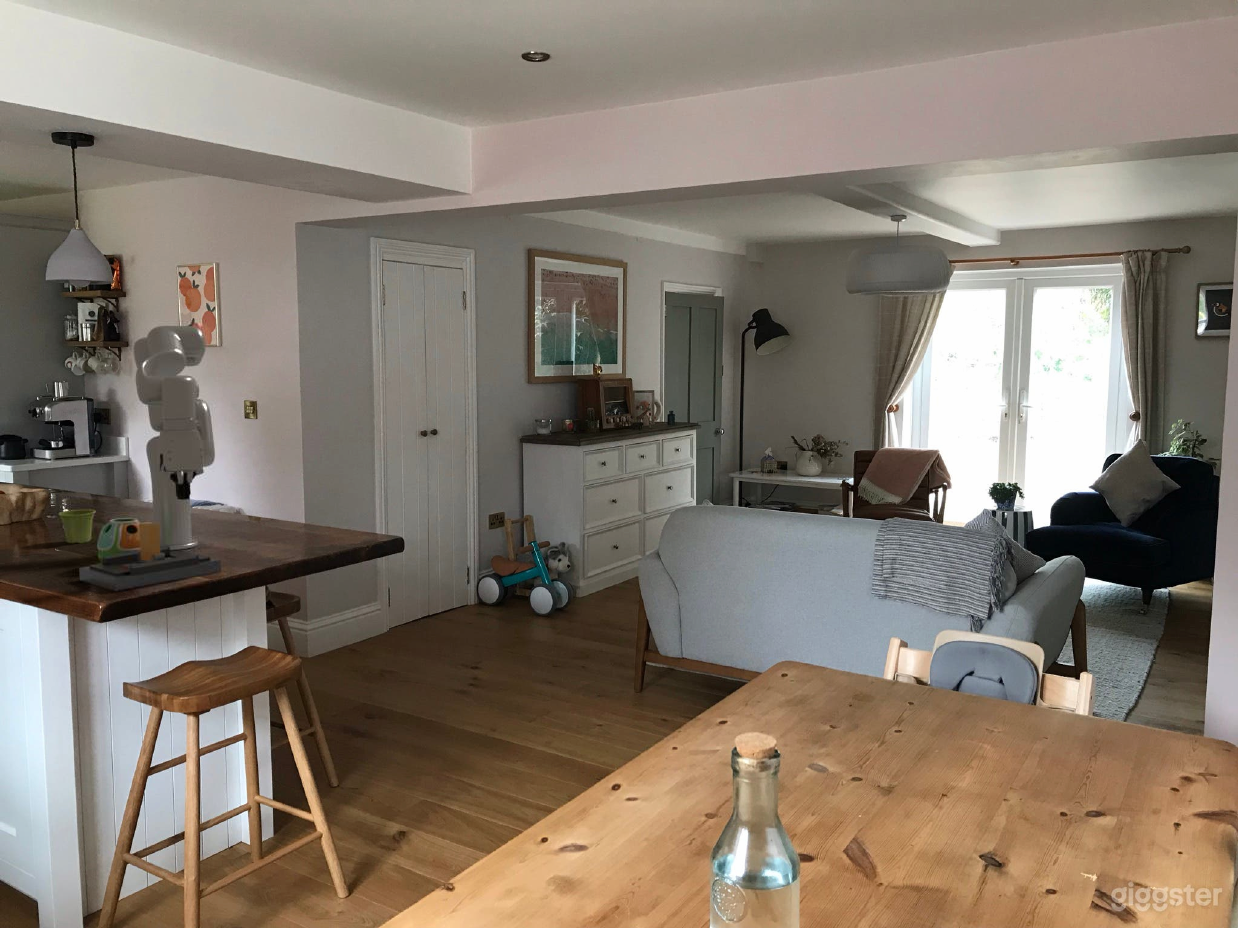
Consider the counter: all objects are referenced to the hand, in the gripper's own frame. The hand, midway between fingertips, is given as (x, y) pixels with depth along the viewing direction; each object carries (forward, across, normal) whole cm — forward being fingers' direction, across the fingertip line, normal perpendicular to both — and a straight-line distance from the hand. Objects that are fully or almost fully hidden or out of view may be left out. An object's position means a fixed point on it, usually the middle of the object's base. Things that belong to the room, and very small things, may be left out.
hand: (183, 499), depth 246 cm
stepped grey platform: (+15, +9, -1) cm, 17 cm away
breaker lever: (+14, +9, -1) cm, 16 cm away
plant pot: (+17, 0, -61) cm, 63 cm away
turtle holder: (+18, +7, -20) cm, 28 cm away
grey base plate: (+18, +9, -1) cm, 20 cm away
